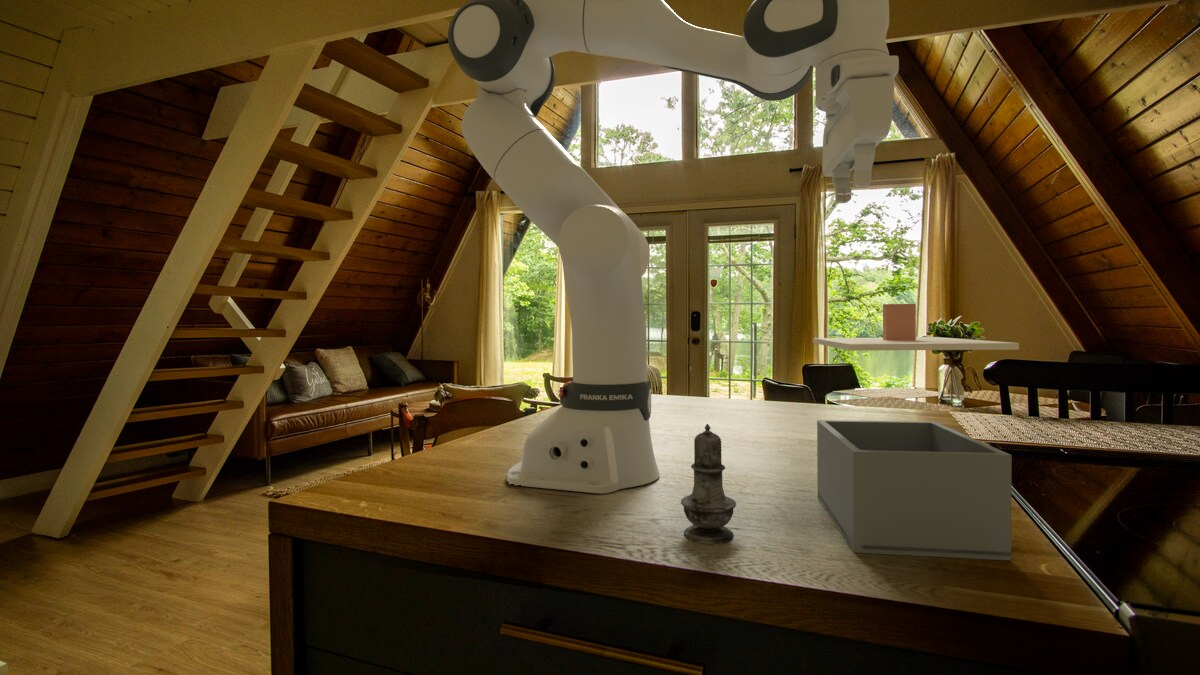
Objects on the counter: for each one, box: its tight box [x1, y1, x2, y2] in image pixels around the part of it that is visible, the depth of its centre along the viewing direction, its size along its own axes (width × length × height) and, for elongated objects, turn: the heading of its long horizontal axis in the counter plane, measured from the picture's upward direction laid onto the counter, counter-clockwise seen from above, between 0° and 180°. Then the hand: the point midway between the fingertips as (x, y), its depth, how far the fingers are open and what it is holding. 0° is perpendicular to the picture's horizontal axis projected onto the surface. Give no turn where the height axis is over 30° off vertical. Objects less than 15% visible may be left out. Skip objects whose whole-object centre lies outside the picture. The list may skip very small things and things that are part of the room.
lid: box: [812, 303, 1020, 352], centre depth 64 cm, size 15×19×5 cm
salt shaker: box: [680, 423, 737, 545], centre depth 62 cm, size 6×6×12 cm
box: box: [816, 419, 1013, 561], centre depth 65 cm, size 14×18×10 cm
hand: (852, 195), depth 76 cm, fingers open, 8 cm apart
